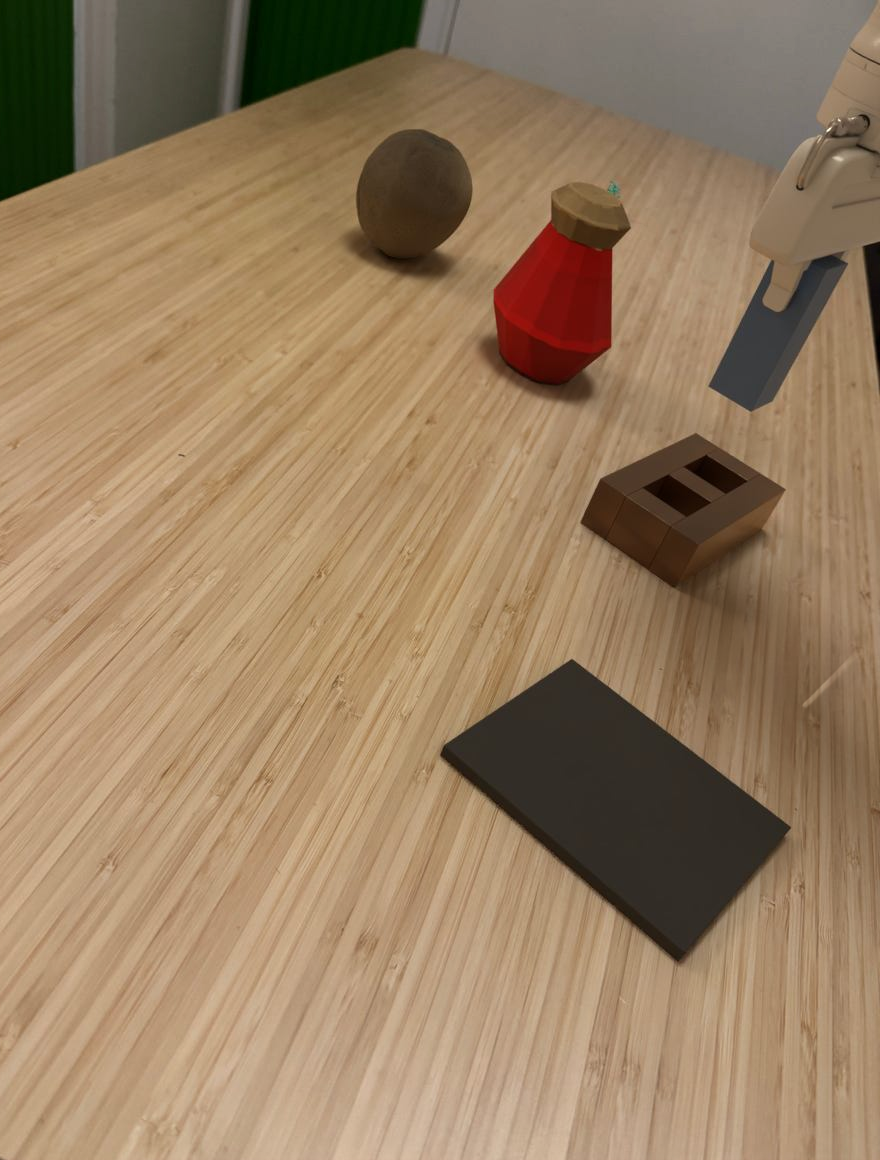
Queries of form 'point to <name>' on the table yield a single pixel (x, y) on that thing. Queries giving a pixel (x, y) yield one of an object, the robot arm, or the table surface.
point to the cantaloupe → (413, 193)
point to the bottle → (562, 288)
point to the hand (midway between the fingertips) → (789, 302)
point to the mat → (620, 802)
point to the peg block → (681, 507)
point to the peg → (774, 336)
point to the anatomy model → (613, 189)
